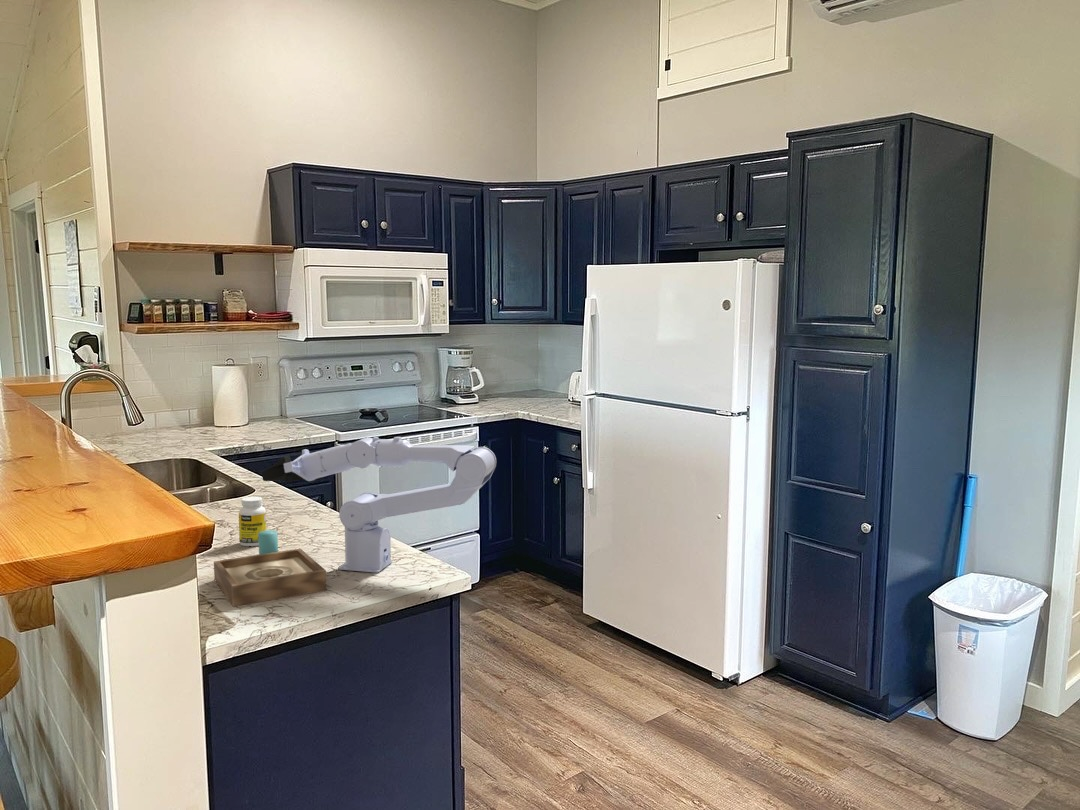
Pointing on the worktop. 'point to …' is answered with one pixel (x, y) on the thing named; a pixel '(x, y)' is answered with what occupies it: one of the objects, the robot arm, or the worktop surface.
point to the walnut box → (269, 576)
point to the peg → (268, 541)
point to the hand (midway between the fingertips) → (273, 476)
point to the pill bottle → (251, 521)
